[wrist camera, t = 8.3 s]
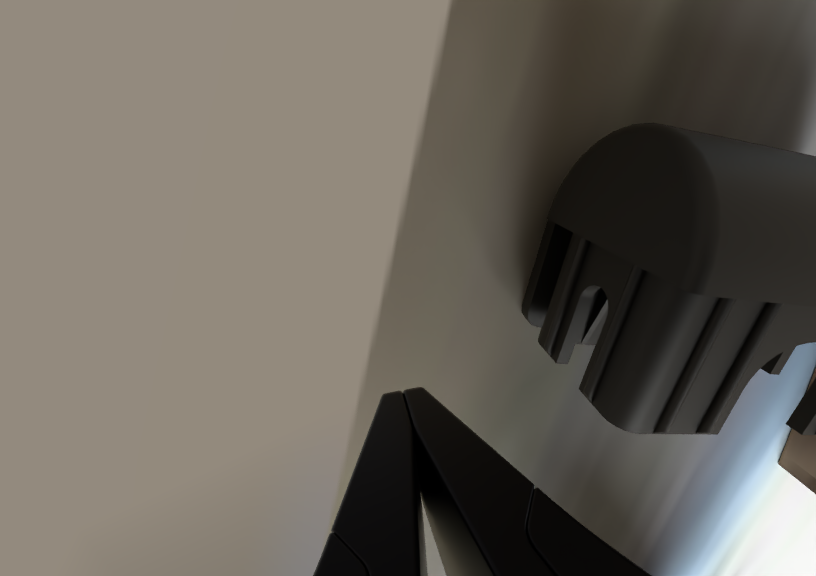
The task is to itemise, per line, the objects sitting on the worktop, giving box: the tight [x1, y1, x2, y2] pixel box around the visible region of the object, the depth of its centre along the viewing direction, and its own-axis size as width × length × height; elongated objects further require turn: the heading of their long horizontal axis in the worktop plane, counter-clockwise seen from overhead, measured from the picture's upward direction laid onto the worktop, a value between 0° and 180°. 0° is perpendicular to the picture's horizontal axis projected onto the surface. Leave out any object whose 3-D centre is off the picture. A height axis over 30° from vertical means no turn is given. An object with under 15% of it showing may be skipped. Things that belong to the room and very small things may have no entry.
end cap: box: [522, 123, 816, 435], centre depth 12 cm, size 10×7×7 cm
